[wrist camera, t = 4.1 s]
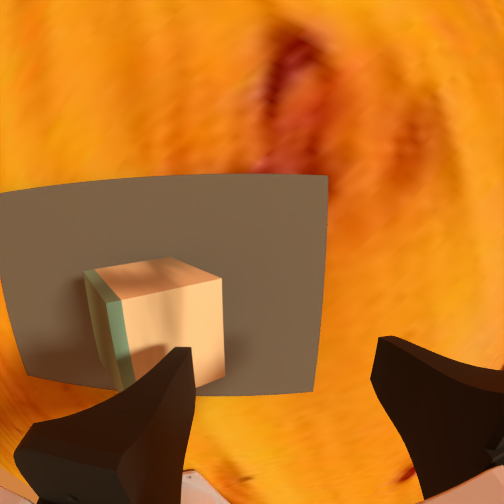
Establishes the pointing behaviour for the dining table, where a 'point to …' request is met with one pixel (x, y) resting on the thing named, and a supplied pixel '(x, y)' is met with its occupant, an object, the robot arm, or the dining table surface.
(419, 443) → the robot arm
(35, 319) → the rubber mat
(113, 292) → the birch block
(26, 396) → the dining table surface
